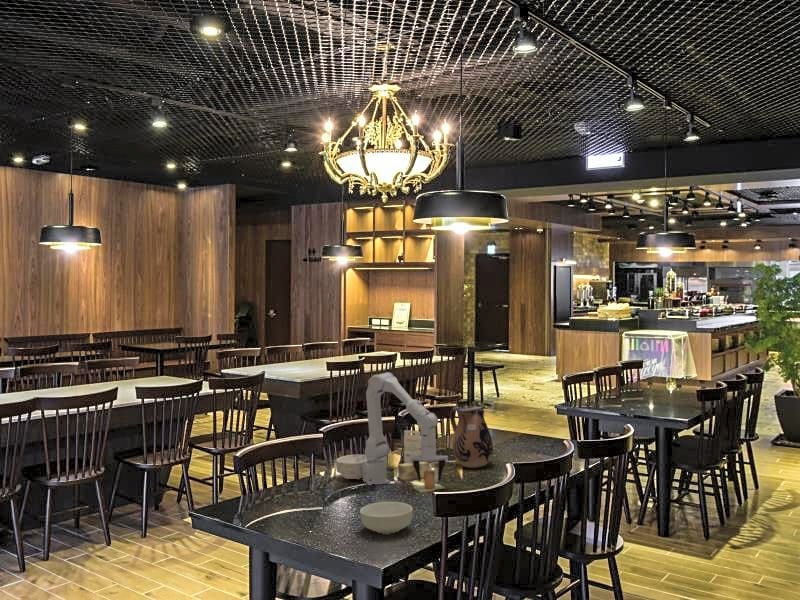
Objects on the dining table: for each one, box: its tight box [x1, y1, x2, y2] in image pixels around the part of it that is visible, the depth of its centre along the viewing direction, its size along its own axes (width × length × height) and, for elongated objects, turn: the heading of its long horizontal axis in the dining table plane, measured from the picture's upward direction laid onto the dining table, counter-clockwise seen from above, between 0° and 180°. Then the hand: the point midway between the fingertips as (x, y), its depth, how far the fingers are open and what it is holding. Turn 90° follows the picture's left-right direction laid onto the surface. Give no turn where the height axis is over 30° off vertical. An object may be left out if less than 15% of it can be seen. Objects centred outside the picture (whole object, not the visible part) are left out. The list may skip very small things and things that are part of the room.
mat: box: [413, 483, 445, 494], centre depth 277 cm, size 10×7×1 cm
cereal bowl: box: [359, 501, 414, 535], centre depth 230 cm, size 17×17×7 cm
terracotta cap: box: [423, 471, 435, 489], centre depth 276 cm, size 4×4×6 cm
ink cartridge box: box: [403, 429, 421, 464], centre depth 319 cm, size 9×5×15 cm, turn 62°
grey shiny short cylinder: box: [428, 466, 439, 484], centre depth 285 cm, size 4×4×6 cm
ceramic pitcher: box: [449, 406, 494, 469], centre depth 312 cm, size 18×21×25 cm
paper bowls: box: [335, 453, 368, 480], centre depth 297 cm, size 15×15×8 cm
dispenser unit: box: [396, 462, 430, 482], centre depth 293 cm, size 13×5×6 cm, turn 112°
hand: (429, 480), depth 276 cm, fingers open, 7 cm apart
